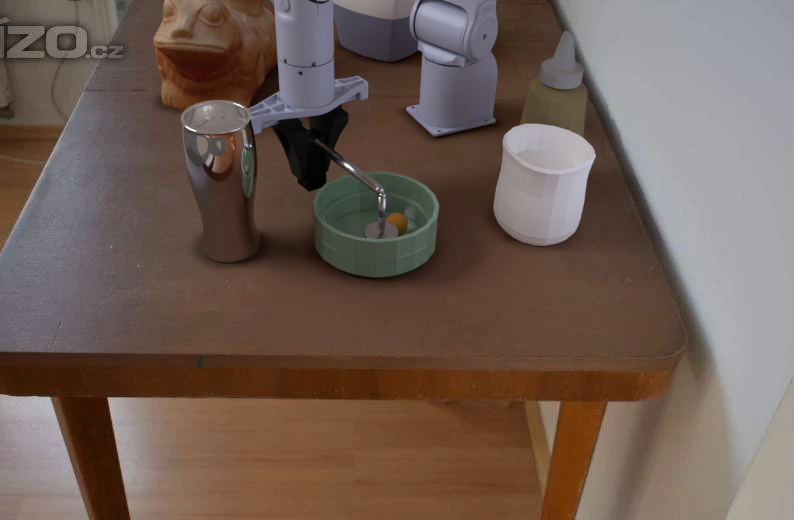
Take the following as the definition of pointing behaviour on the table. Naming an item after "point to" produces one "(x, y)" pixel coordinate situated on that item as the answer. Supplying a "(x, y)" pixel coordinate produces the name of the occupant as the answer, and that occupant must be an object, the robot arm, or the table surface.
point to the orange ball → (398, 221)
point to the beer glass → (223, 176)
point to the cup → (542, 183)
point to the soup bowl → (358, 207)
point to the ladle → (318, 173)
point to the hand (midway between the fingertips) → (310, 172)
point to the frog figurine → (214, 50)
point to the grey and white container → (375, 28)
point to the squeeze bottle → (558, 91)
